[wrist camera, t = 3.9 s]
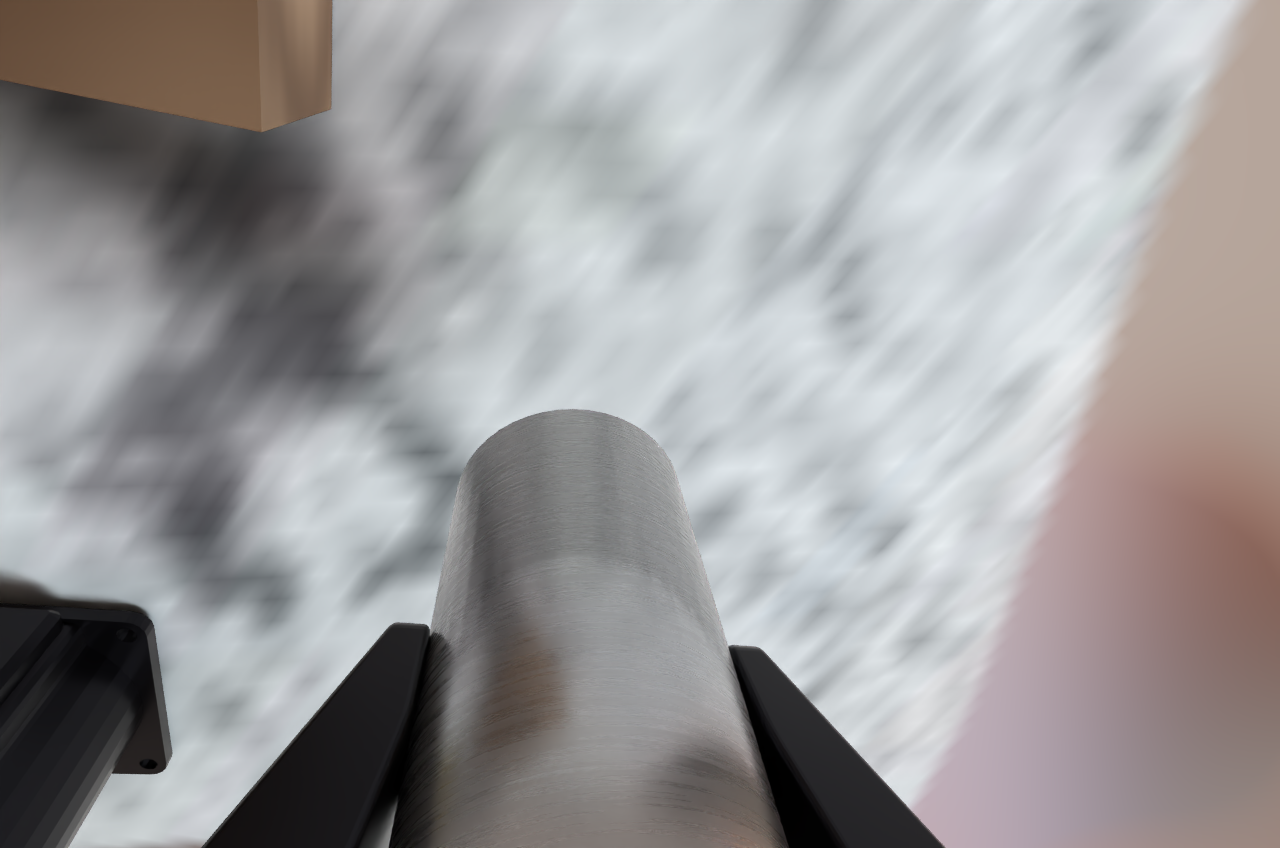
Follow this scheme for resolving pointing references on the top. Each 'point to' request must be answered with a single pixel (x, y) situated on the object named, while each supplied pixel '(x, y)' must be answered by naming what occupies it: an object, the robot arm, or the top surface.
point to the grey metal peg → (578, 660)
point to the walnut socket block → (177, 55)
